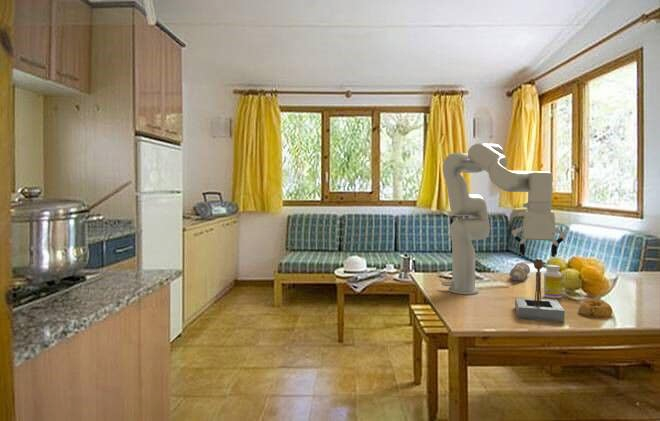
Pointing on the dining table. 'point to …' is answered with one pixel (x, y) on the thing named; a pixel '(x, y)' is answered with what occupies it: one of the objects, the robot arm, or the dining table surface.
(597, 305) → the bagel
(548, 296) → the supplement bottle
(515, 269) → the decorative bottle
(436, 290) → the dining table surface
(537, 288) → the wooden tabletop sculpture
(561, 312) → the tray
